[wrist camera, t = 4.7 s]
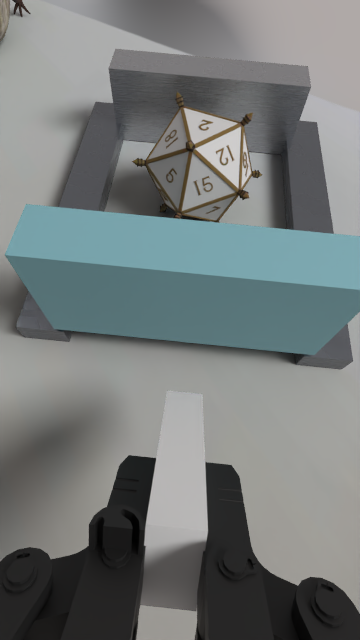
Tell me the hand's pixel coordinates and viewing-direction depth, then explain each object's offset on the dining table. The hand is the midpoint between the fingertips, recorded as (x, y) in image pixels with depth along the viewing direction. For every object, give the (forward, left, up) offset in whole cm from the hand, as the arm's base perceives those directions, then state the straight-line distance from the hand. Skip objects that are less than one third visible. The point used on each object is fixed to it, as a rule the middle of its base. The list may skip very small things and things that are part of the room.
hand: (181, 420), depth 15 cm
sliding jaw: (0, +7, -4) cm, 8 cm away
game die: (0, +18, -6) cm, 20 cm away
